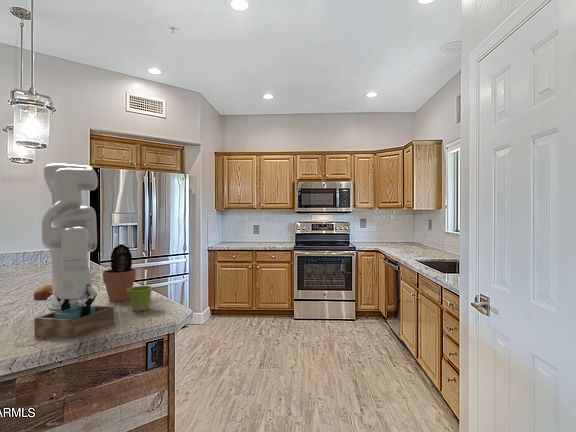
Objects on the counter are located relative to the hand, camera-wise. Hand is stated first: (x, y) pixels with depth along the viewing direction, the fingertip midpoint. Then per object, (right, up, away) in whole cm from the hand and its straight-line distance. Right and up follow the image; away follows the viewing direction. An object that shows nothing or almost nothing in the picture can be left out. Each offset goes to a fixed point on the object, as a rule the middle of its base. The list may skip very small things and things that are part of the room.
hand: (76, 316), depth 115 cm
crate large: (0, -4, 0) cm, 4 cm away
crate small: (0, -4, 0) cm, 4 cm away
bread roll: (-43, -5, +47) cm, 64 cm away
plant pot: (+12, -4, +22) cm, 25 cm away
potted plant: (-5, -4, +40) cm, 41 cm away
